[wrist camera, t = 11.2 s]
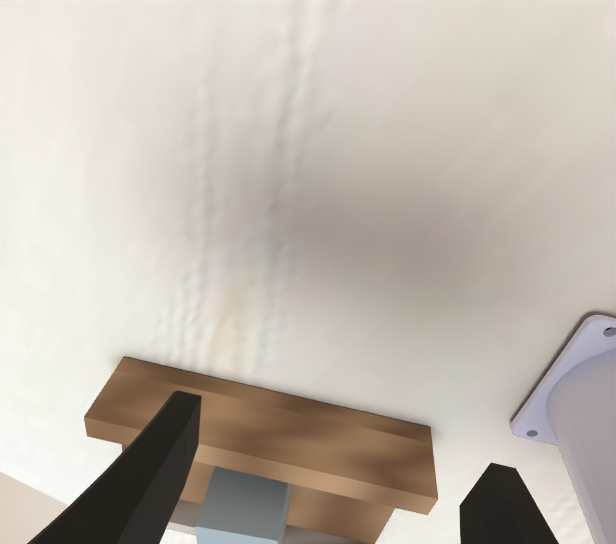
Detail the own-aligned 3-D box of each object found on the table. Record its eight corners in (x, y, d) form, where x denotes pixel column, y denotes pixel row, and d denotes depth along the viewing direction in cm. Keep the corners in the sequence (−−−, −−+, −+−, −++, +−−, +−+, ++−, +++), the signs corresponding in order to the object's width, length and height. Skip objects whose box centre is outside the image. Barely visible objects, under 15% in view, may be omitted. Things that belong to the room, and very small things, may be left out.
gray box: (294, 447, 25) (277, 540, 21) (289, 504, 29) (274, 594, 25) (225, 436, 26) (195, 526, 21) (227, 494, 29) (202, 581, 25)
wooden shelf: (430, 427, 24) (438, 499, 21) (368, 539, 32) (367, 605, 28) (123, 356, 24) (83, 417, 21) (133, 485, 32) (104, 544, 29)
